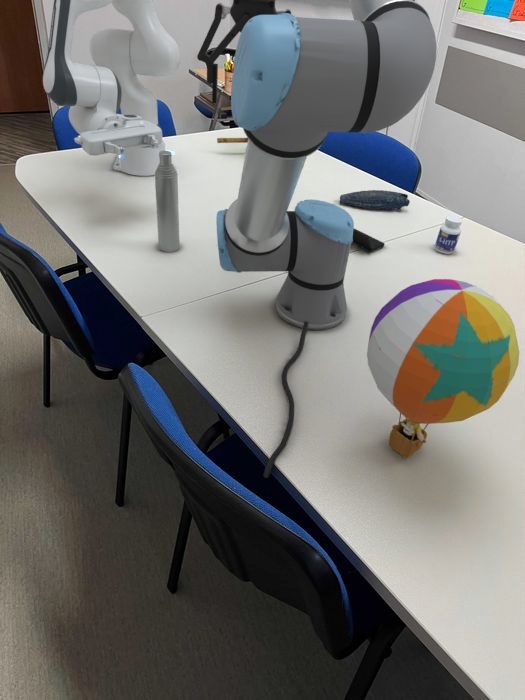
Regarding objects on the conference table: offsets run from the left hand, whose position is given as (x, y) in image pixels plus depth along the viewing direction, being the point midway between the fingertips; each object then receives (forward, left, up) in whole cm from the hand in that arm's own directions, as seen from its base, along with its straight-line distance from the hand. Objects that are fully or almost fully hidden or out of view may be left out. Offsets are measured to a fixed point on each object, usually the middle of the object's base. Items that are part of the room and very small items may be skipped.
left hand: (139, 148), depth 123 cm
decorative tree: (-55, +47, -21) cm, 76 cm away
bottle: (+10, +5, -21) cm, 24 cm away
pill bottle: (+23, +77, -21) cm, 83 cm away
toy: (+83, +31, -21) cm, 91 cm away
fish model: (-7, +70, -21) cm, 73 cm away
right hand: (+21, +20, +15) cm, 33 cm away
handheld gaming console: (+16, +54, -21) cm, 60 cm away
